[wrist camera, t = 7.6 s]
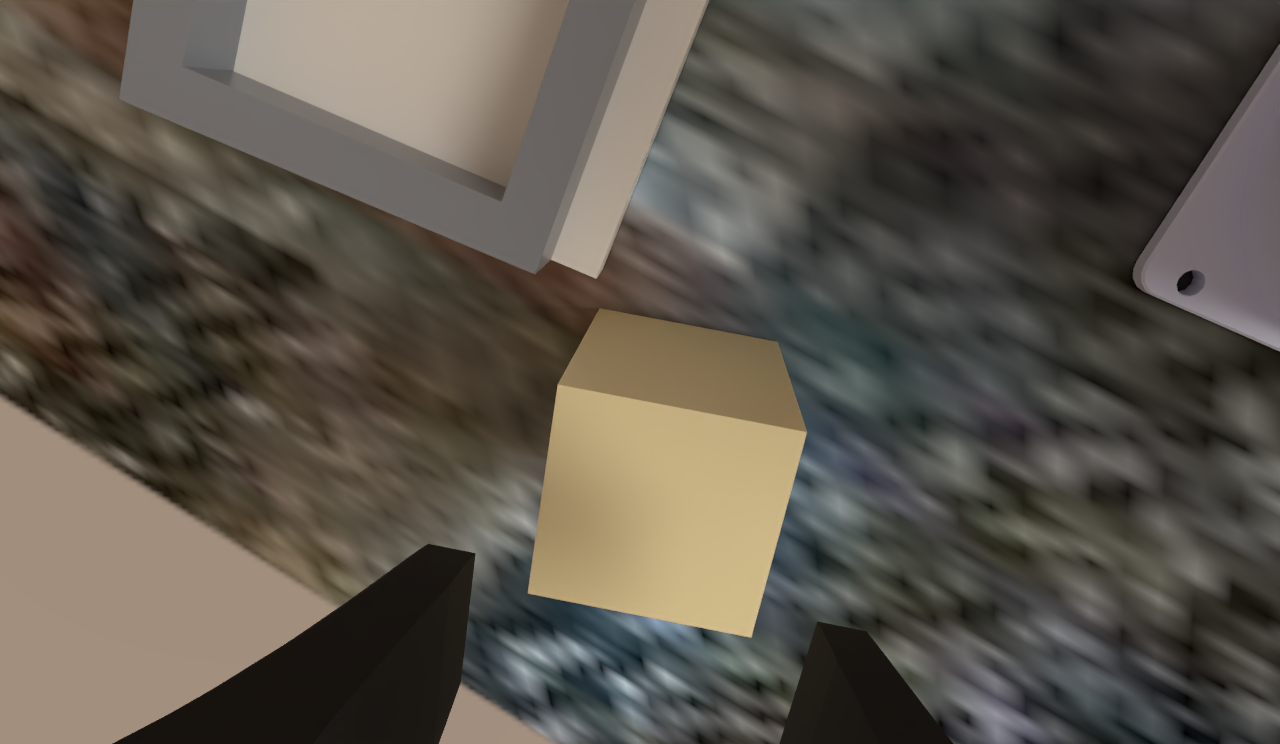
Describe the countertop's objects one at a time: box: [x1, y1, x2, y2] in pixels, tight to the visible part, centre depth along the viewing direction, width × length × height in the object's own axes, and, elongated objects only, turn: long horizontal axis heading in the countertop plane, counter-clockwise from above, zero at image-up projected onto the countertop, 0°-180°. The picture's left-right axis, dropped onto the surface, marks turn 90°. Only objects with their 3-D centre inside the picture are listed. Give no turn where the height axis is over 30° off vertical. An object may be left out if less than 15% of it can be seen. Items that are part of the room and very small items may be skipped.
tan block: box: [528, 308, 807, 637], centre depth 15 cm, size 4×4×5 cm
